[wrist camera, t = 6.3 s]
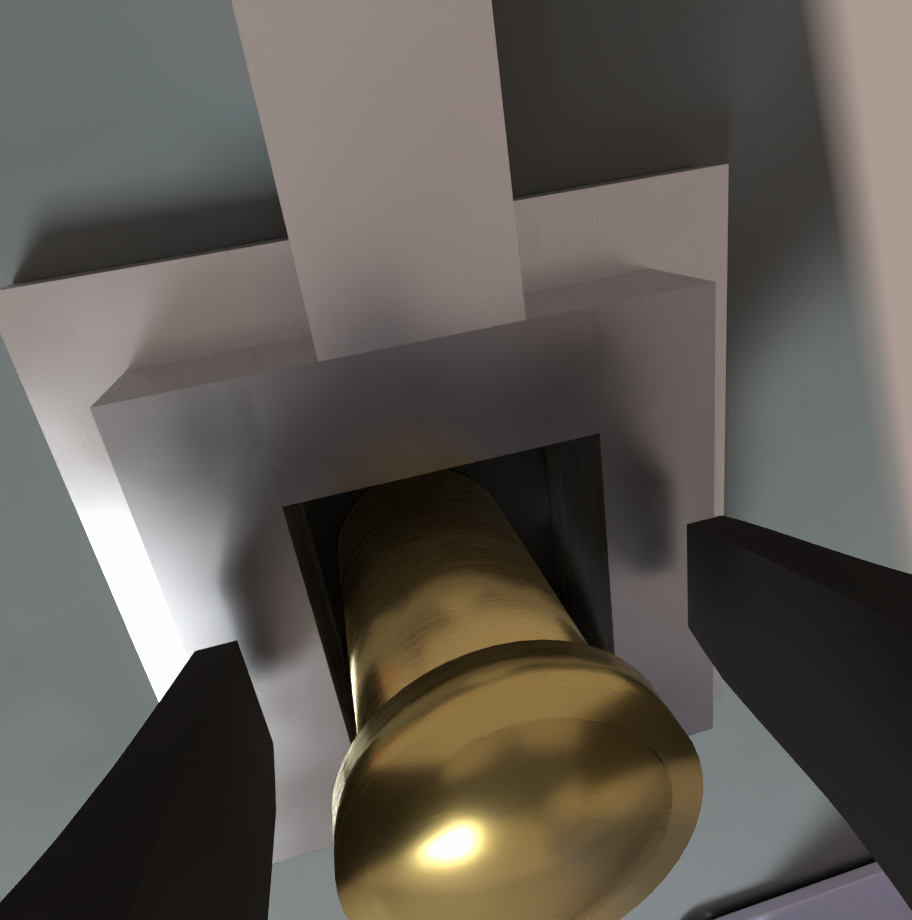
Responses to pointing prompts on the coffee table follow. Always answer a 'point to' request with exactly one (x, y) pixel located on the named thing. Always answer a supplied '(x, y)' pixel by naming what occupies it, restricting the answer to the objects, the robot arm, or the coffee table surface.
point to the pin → (491, 729)
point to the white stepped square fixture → (389, 373)
